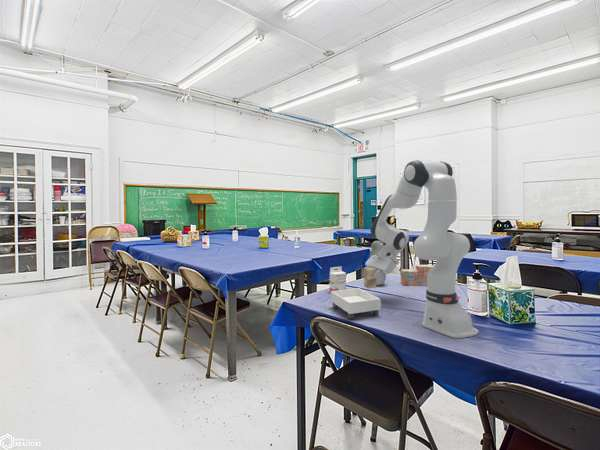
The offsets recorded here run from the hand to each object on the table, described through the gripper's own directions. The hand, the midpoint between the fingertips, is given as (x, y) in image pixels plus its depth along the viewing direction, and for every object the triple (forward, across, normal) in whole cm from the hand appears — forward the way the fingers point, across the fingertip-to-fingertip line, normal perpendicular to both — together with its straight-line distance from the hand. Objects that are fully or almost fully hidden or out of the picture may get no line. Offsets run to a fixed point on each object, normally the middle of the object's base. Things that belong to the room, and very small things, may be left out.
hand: (370, 275), depth 173 cm
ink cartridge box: (+16, -22, +4) cm, 28 cm away
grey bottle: (-6, -27, +25) cm, 37 cm away
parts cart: (+21, +11, -1) cm, 23 cm away
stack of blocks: (-22, -18, +42) cm, 51 cm away
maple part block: (+4, 0, +4) cm, 6 cm away
